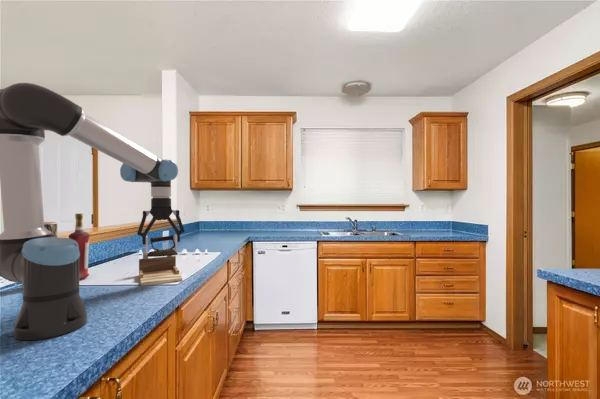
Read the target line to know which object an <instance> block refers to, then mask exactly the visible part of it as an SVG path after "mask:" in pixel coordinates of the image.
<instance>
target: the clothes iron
mask: <svg viewBox="0 0 600 399" xmlns="http://www.w3.org/2000/svg"><path fill="white" fill-rule="evenodd" d="M149 239H150V244H151V247H152V249H153V251H152V250H151V251H148V254H147V257H148V258H157V257H167V256H177V255H178V254H179V253H178V252H177V250H175V243H174V235H173V234H171V235H166V236H158V237H157V236H156V237H150V238H149ZM165 241H172V242H173V246H171V247H169V248H165V249H159V248H155V247H154V246H153V245H154V244H153V243H159V242H165Z"/></svg>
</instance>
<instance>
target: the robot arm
mask: <svg viewBox="0 0 600 399" xmlns="http://www.w3.org/2000/svg"><path fill="white" fill-rule="evenodd" d="M45 130H46V131H50V132H54V133H56V134H57V135H60V136H61V137H66V136H70V137H72V138H74V139H75V140H78V141H79V142H81V143H83V144H85V145H87V146H89V147H91V148H92V149H94V150H97V151H99V152H100V153H102V154H105V155H107V156H108V157H110V158H112V159H115V160H116V161H118V162H120V163H122V165H121V166H120V171H119V172H120V173H119V174H120V178H121V179H122V180H123V181H125V182H129V183H150V197H152V198H151V200H150V209H149V210H143V211H142V218H141V221H140V224H139V226H138V229H137V235H138V236H140V237H142V240H141V241H142V245H145V248H144V249H145V252H146V253H149V236H148V233H149V232H150V230H151V228H152V227H153V225H154V223H155V222H157V221H167V222H168V223H169V225H170V226H171V227H172V230H173V231H174V232H175V233H174V235H173V237H174V239H173V240H174V243H175V247H174V250H175V251H178V243H180V242H181V234H184V233H185V228H184V225H183V222H182V219H181V217H180V210H179V209H175V210H174V209H172V198H171V197H172V181H173V180H175V179H176V178H177V177H178V173H179V167H178V164H177V163H176V162H175V161H173V160H171V159H162V158H161V157H159V156H156V155H155V154H154V153H151V152H150V151H148V150H147V149H146V148H143V147H141V146H140V145H138V144H137V143H135V142H133V141H132V140H130V139H128V138H127V137H125V136H123V135H122V134H120V133H118V132H116V130H115V131H114V130H113V129H111V128H110V127H108V126H106V125H105V124H103V123H102V122H100V121H98V120H96V119H95V118H93V117H91V116H89V115H88V114H86V112H84V108H83V107H82V106H80V105H78V104H77V103H75V102H73V101H72V100H70V99H68V98H66V97H65V96H62V95H61V94H59V93H57V92H55V91H53V90H51V89H50V88H47V87H44V86H41V85H40V84H35V83H29V82H19V83H14V84H13V83H12V84H11V85H9V86H6V87H4V88H1V89H0V196H1V197H0V198H1V208H2V220H3V221H2V223H3V231H2V233H0V277H1V278H3V279H4V280H7V281H9V282H12V283H20V284H22V305H21V307H20V310H19V312H18V315H17V318H16V321H15V323H14V325H13V338H14V339H16V340H20V341H36V340H43V339H50V338H54V337H59V336H62V335H65V333H66V334H68V332H69V333H71V332H73V331H76V330H78V329H80V328H82V327H84V326H85V325H86V324H87V322H88V312H87V309H86V308H85V305H84V303H83V300H82V298H81V294H80V280H79V257H80V251H79V245H78V243H77V242H76V241H75V240H73V239H69V237H58V236H57V237H52V233H51V232H50V231H49V230H47V229H46V228H45V227H44V222H45V220H44V218H45V217H44V204H43V192H42V191H43V188H42V175H41V162H40V161H41V159H40V144H41V145H42V143H43V142H45V140H46V138H45V137H46V135H45V133H46V132H45ZM172 214H173V215H174V216H175V219H176V221H177V224H178V228H179V229H178V228H177V226H176V224H175V222H173V220H172V219H171V215H172ZM149 215H151V216H152V218H151V220H150V221H149V223H148V224H147V226H146V228H145V230H144V231H143V229H144V226H145V222H146V220H147V217H149ZM174 243H173V244H174Z"/></svg>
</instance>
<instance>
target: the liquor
mask: <svg viewBox="0 0 600 399" xmlns="http://www.w3.org/2000/svg"><path fill="white" fill-rule="evenodd" d="M74 215H75V225H74V226H75V227H74V232H72V233H70V234H69V235H68V238H69V239H73V240H75V241H76V242H77V243H78V245H79V251H80V257H79V281H82V279H83V280H86V279H87V278H88V277H89V276H90V274H89V255H90V254H89V252H90V236H91V235H90V233H88V232H87V231H84V224H83V219H84V213H75V214H74ZM85 278H86V279H85Z"/></svg>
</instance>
